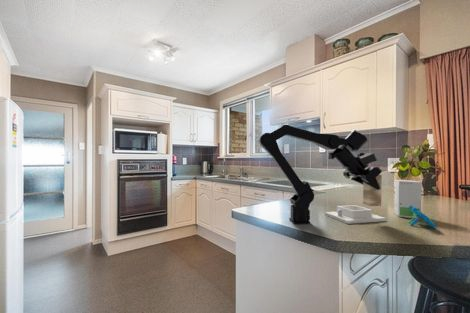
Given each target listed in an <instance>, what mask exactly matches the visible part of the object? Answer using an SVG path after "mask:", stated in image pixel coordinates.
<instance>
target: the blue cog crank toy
mask: <svg viewBox="0 0 470 313" xmlns="http://www.w3.org/2000/svg"><path fill="white" fill-rule="evenodd" d="M408 208H409V209H411V211H412V212H413V213H414V214H413V215H414V216H412V217H413V218H410V219H409V220H408V223H409V225H410V226H411V227H413V226H414V225H415V224H417V223H419V222H421V221H422V222H424V223H426V224H427V225H428V226H430V227H432V228H433V229H435V228H437V227H438V226H437V225H436V223H435V222H434V221H433V220H431V219H430V218H429V217H428V216H427V215H426V214H425V213H423V212H422V210H421V211H418V210H417V209H416V208H415V207H412V206H409V207H408Z"/></svg>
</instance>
